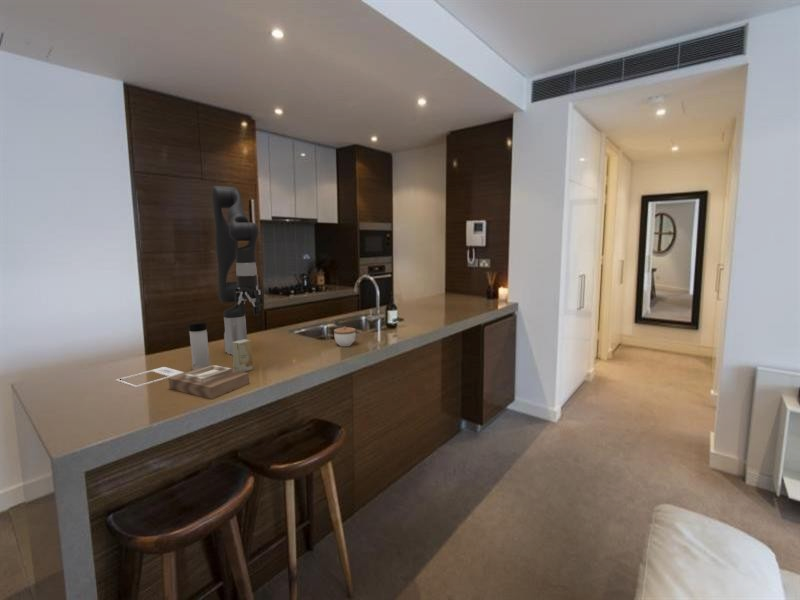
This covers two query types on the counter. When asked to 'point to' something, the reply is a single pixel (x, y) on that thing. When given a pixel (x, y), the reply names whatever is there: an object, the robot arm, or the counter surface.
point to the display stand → (209, 381)
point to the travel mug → (199, 345)
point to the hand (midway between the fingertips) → (249, 314)
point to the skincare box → (242, 355)
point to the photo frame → (162, 371)
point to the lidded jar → (344, 336)
